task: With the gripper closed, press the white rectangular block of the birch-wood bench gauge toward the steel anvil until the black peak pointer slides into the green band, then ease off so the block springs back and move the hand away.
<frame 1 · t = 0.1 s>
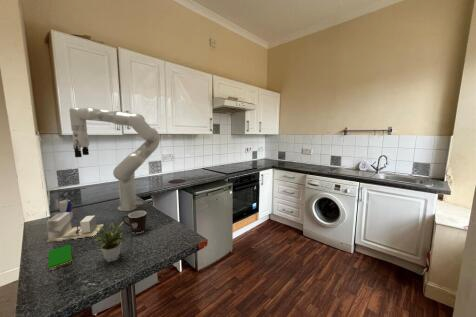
hand: (82, 156, 126), 37 cm above the worktop, tool pointing down, fingers open, 9 cm apart
house plant: (108, 260, 85), on the worktop
white rectangular block: (87, 225, 105), point 5 cm above the worktop, slide at 0.0 cm
dish sponge: (60, 260, 85), on the worktop
energy drink: (67, 220, 119), on the worktop
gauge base: (78, 233, 105), on the worktop
pointer: (77, 230, 101), point 4 cm above the worktop, slide at 0.0 cm
coffee mug: (136, 231, 108), on the worktop
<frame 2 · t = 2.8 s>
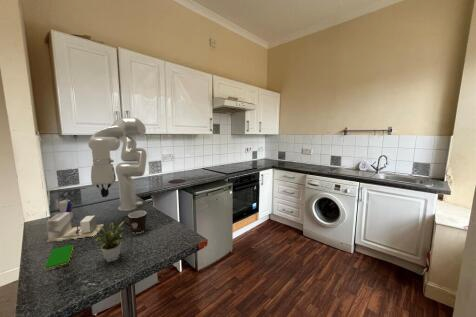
hand: (105, 196, 106), 19 cm above the worktop, tool pointing down, fingers closed
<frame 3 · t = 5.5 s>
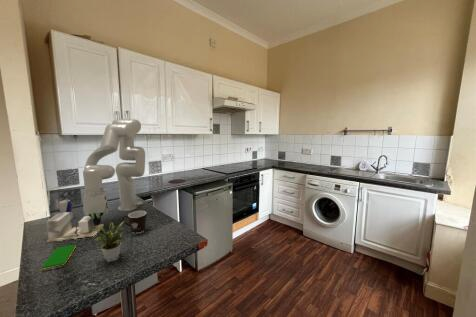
hand: (97, 224, 107), 4 cm above the worktop, tool pointing down, fingers closed
white rectangular block: (86, 225, 105), point 5 cm above the worktop, slide at 0.8 cm, touching gripper, pointer
pointer: (76, 230, 100), point 4 cm above the worktop, slide at 0.5 cm, touching white rectangular block
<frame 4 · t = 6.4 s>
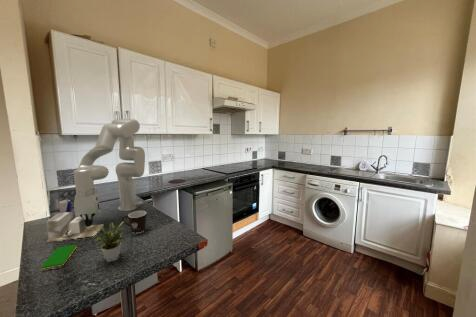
hand: (89, 225, 106), 4 cm above the worktop, tool pointing down, fingers closed
white rectangular block: (77, 226, 104), point 5 cm above the worktop, slide at 4.6 cm, touching gripper, pointer
pointer: (67, 231, 99), point 4 cm above the worktop, slide at 4.3 cm, touching white rectangular block
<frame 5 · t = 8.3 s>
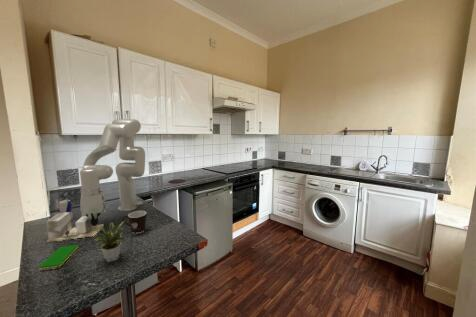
hand: (94, 224, 107), 4 cm above the worktop, tool pointing down, fingers closed
white rectangular block: (83, 225, 104), point 5 cm above the worktop, slide at 2.0 cm, touching gripper
pointer: (67, 231, 99), point 4 cm above the worktop, slide at 4.4 cm
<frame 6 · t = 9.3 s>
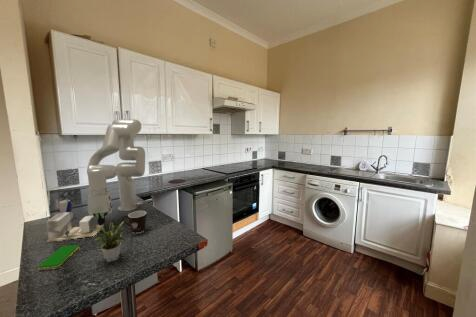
hand: (101, 224, 108), 4 cm above the worktop, tool pointing down, fingers closed
white rectangular block: (86, 225, 105), point 5 cm above the worktop, slide at 0.4 cm
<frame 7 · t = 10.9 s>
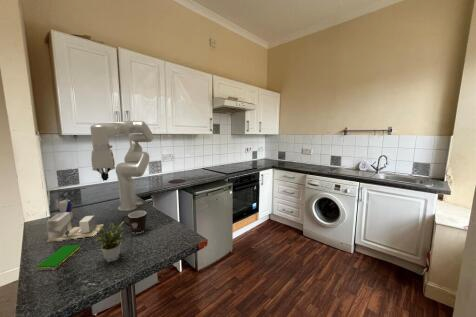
hand: (105, 179, 113), 26 cm above the worktop, tool pointing down, fingers closed
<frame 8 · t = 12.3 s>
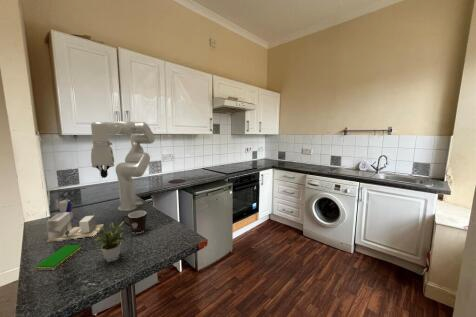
hand: (104, 177, 113), 27 cm above the worktop, tool pointing down, fingers closed
at the end: pointer slide at 4.4 cm; white rectangular block slide at 0.4 cm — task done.
